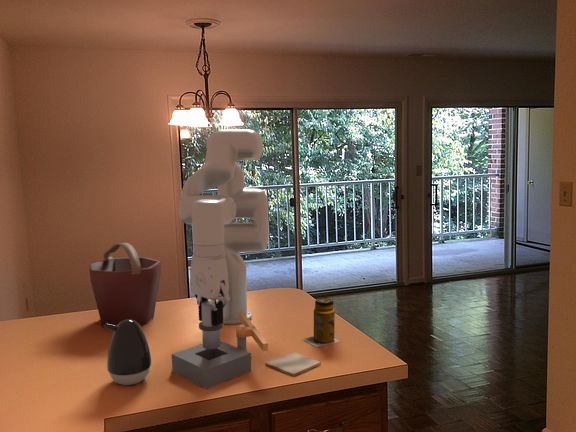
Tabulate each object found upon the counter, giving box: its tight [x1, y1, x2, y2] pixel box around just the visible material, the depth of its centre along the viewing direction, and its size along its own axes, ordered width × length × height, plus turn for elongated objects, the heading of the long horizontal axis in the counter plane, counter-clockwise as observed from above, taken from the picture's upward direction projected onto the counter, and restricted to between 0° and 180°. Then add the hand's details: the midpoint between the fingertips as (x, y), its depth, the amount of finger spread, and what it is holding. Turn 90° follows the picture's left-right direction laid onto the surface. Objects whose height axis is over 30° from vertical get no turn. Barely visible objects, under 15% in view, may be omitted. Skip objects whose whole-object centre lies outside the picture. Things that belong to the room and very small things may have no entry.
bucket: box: [88, 242, 162, 328], centre depth 172 cm, size 24×22×25 cm
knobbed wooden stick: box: [235, 312, 269, 352], centre depth 140 cm, size 5×26×2 cm, turn 18°
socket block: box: [171, 337, 252, 390], centre depth 134 cm, size 14×20×6 cm
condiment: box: [302, 297, 341, 348], centre depth 153 cm, size 7×8×12 cm
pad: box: [265, 351, 322, 377], centre depth 137 cm, size 10×10×1 cm
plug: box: [198, 300, 224, 349], centre depth 132 cm, size 6×6×11 cm
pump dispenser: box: [104, 319, 152, 386], centre depth 127 cm, size 10×10×15 cm
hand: (211, 321), depth 132 cm, fingers closed on plug, 4 cm apart
